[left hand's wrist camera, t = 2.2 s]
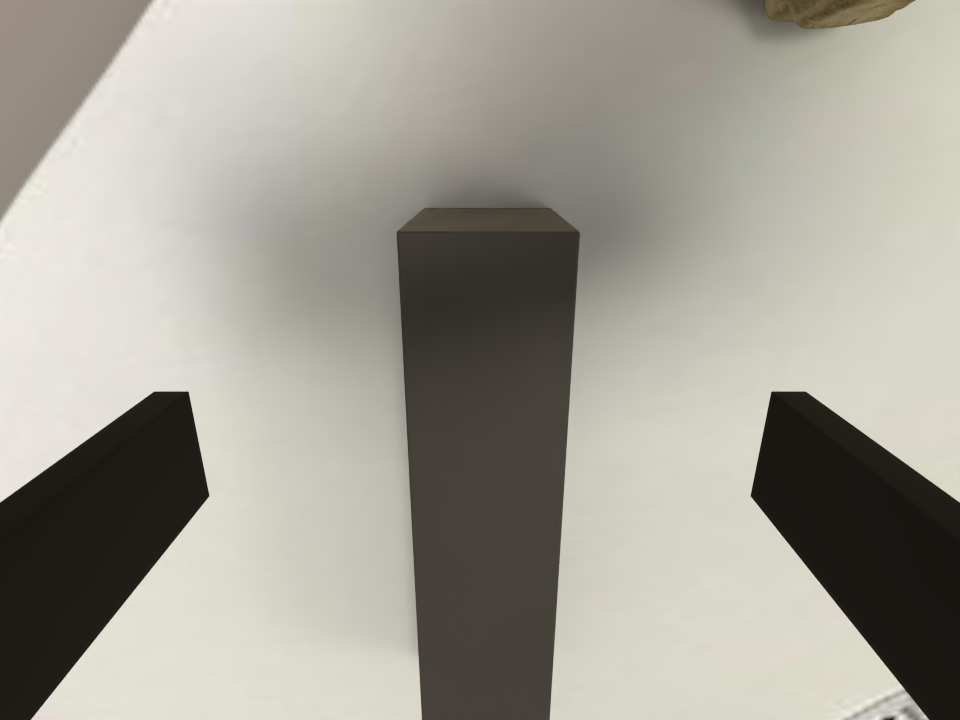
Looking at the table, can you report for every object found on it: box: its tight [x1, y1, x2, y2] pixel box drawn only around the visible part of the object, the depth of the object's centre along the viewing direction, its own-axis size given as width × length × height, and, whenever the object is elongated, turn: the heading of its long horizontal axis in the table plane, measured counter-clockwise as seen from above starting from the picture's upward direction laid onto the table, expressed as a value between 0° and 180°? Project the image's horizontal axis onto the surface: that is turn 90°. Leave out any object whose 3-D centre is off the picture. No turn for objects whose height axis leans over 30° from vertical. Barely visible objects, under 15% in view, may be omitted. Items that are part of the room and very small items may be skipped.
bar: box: [397, 208, 580, 720], centre depth 26 cm, size 28×6×8 cm, turn 0°
